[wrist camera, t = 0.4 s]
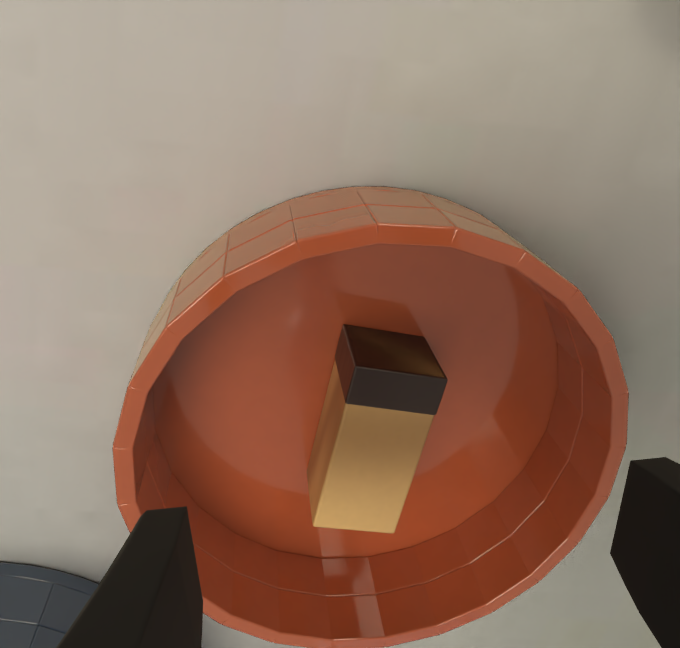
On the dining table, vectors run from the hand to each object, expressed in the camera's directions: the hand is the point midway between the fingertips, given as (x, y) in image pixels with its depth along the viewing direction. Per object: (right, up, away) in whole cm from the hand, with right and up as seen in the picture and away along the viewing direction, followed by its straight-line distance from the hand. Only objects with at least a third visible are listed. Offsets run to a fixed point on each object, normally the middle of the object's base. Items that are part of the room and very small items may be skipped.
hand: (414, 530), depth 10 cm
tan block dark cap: (-1, +1, +10) cm, 10 cm away
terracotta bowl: (-1, +1, +10) cm, 10 cm away
